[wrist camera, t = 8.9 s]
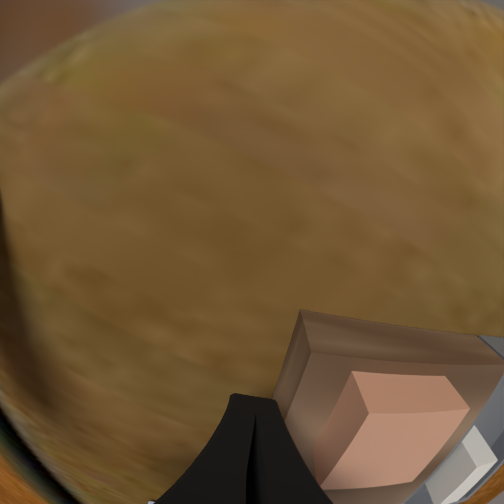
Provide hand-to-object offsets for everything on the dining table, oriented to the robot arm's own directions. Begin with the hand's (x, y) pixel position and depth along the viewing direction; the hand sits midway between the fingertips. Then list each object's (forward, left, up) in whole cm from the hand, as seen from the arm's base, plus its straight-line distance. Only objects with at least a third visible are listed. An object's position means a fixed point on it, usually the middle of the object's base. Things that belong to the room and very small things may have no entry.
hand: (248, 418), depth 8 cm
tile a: (-5, -12, -1) cm, 13 cm away
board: (-5, -6, -4) cm, 9 cm away
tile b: (0, -5, -1) cm, 5 cm away
